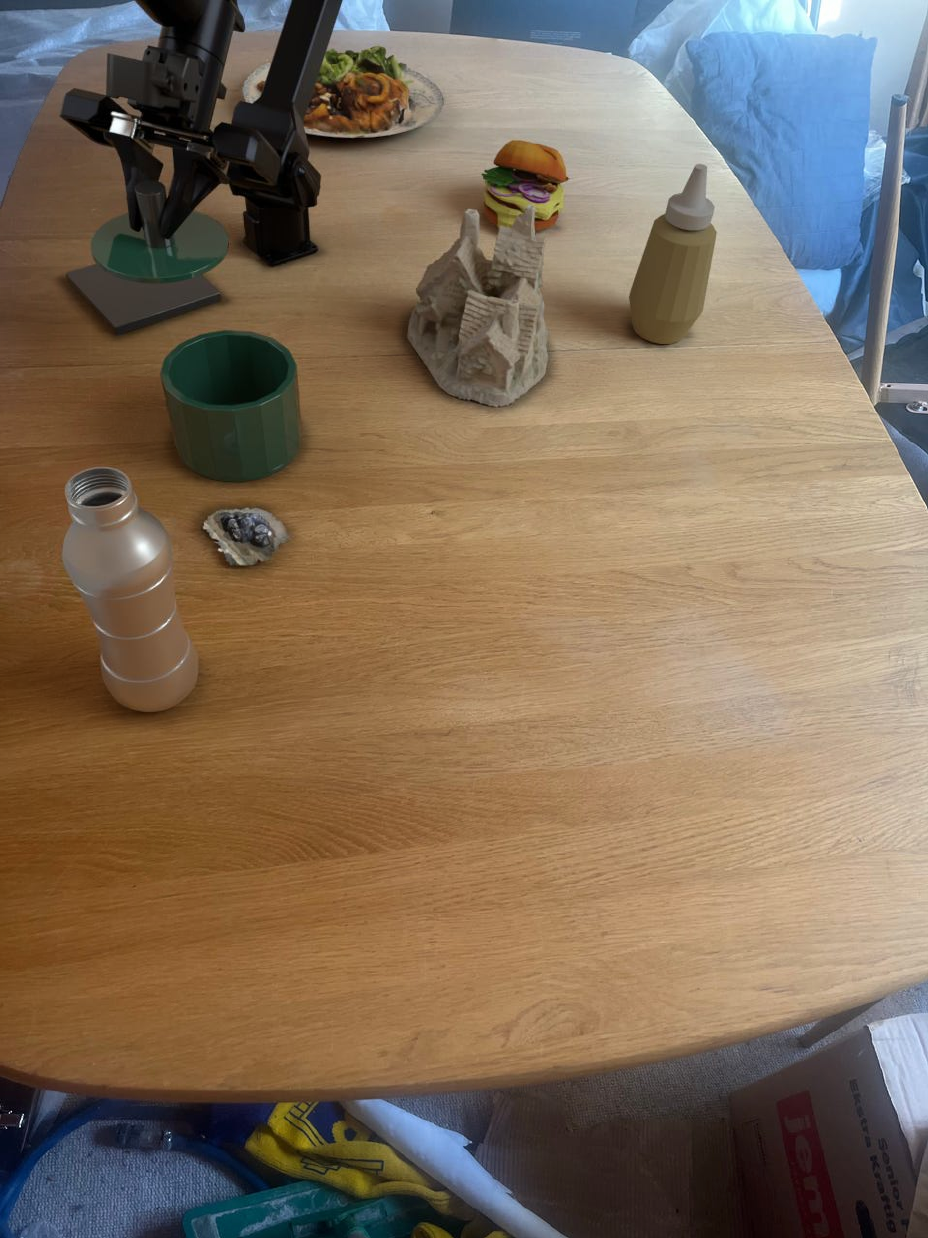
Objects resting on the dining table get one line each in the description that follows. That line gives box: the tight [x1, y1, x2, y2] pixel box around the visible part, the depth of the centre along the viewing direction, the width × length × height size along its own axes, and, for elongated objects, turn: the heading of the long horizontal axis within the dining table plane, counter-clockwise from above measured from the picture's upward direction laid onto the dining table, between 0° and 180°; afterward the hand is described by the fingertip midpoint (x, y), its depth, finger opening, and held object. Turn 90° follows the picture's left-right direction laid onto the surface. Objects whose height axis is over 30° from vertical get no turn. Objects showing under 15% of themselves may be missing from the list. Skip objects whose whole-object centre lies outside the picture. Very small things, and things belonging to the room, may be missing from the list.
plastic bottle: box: [61, 466, 199, 713], centre depth 63 cm, size 6×7×20 cm
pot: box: [159, 329, 303, 483], centre depth 86 cm, size 11×11×8 cm
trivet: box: [64, 263, 222, 336], centre depth 103 cm, size 12×12×1 cm
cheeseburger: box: [481, 139, 570, 232], centre depth 117 cm, size 10×11×10 cm
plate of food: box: [241, 45, 445, 139], centre depth 133 cm, size 28×28×6 cm
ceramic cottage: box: [406, 204, 549, 408], centre depth 95 cm, size 16×16×15 cm
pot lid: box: [89, 180, 230, 284], centre depth 86 cm, size 12×12×6 cm
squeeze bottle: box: [628, 163, 718, 345], centre depth 99 cm, size 8×8×18 cm
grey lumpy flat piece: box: [202, 507, 292, 567], centre depth 81 cm, size 7×8×2 cm
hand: (149, 233), depth 86 cm, fingers closed on pot lid, 3 cm apart
